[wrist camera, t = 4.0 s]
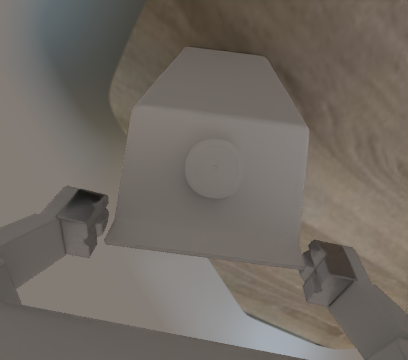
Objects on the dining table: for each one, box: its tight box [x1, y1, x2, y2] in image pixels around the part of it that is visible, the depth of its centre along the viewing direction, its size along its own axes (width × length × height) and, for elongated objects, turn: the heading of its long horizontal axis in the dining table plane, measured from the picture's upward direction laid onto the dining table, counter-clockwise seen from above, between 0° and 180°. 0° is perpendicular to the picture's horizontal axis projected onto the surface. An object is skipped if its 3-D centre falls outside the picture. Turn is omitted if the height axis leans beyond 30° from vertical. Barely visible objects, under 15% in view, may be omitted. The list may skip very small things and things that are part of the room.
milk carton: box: [104, 47, 309, 270], centre depth 17 cm, size 7×7×19 cm
